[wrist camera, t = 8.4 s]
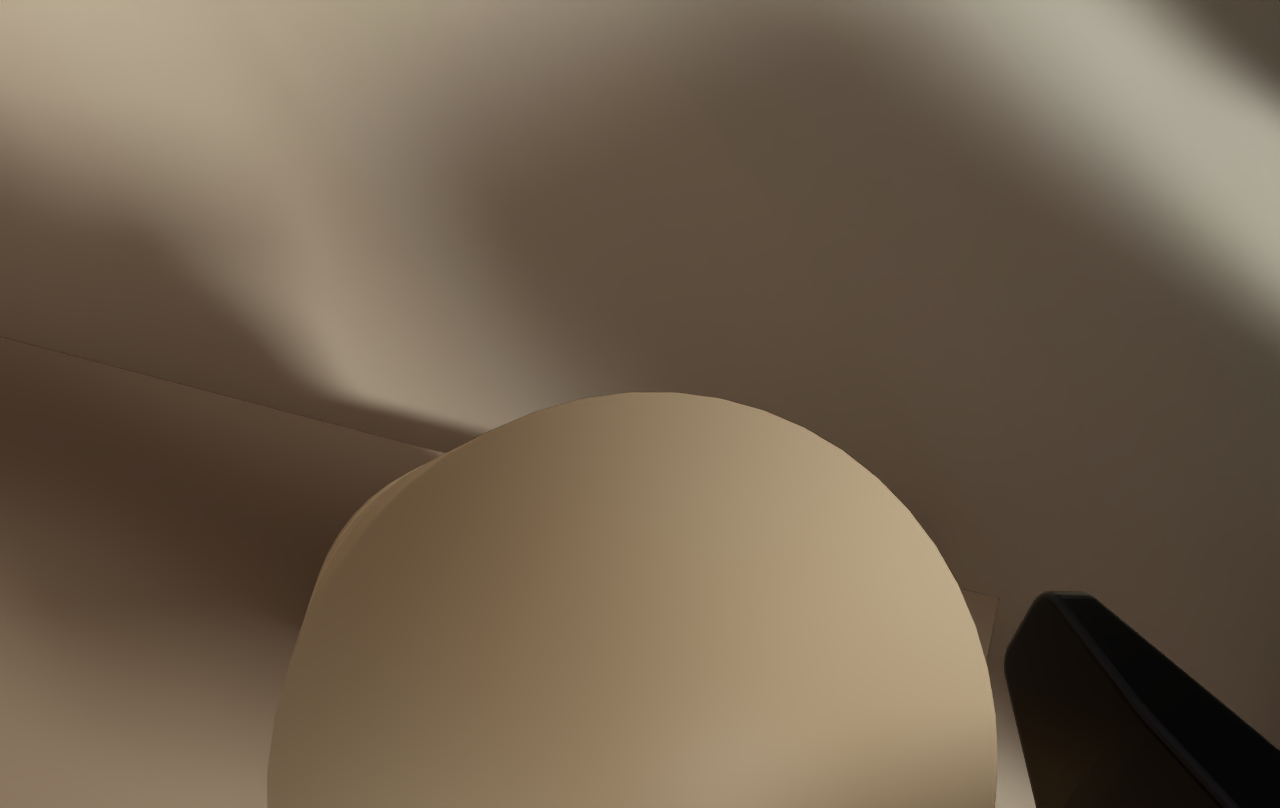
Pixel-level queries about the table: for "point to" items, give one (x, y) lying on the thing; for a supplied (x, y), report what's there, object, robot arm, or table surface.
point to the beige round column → (636, 629)
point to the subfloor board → (164, 578)
